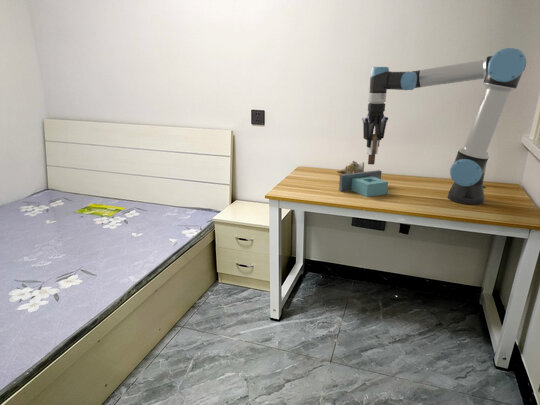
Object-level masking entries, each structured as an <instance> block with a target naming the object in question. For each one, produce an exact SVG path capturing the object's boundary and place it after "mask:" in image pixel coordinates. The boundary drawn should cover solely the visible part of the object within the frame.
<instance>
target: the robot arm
mask: <svg viewBox="0 0 540 405" xmlns="http://www.w3.org/2000/svg"><path fill="white" fill-rule="evenodd" d="M526 68H527V59H526V56H525V53H523V52H522V50H520V49H518V48H514V47H507V48H502V49H500V50H498V51H497V52H495V53H494V54H493V55H489V56H486V57H484V59H479V60H475V61H474V60H473V61H469V62H467V61H466V62H463V63H461V62H460V63H456V64H450V65H443V66H438V67H431V68H425V69H419V70H413V71H390V67H388V66H373V67H372V68H371V71H370V78H369V80H370V81H369V93H368V100H367V101H368V102H369V103H368V104H367V111H368V113H367V116H366V117H362V119H361V120H362V123H363V125H362V126H363V139H364V140H366V147H367V149H366V154H367V155H369V154H370V155H372V148H373V141H371V140H372V136H373V134H377V141H376V152H375V155H378V152H379V151H378V150H379V147H380V141H382V139H384V138H385V133H386V132H385V130H386V128H387V127H386V126H387V123H388V120H389V117H387V116H385V113H384V112H385V110H386V109H385V108H386V104H385V103H386V100H387V90H398V91H413V90H415V89H419V88H424V87H432V86H433V87H434V86H440V85H447V84H448V85H449V84H454V83H462V82H469V81H477V80H483V85H484V88H485V89H484V91H483V94H482V97H481V100H480V103H479V105H478V108H477V111H476V114H475V116H474V118H473V121H472V125H471V127H470V130H469V132H468V135H467V137H466V140H465V143H464V146H463V147H461V148H459V149H458V150H457V154H456V156H455V159H454V162H453V163H452V165H451V167H450V168H449V175H450V178H451V180H452V181H453V184H452V185H451V187H450V189H449V191H448V193H447V199H448V200H450V201H452V202H456V203H458V204H464V205H482V204H484V203H485V199H486V198H485V192H484V191H485V190H484V187H483V186H484V179H485V174H486V168H487V163H488V160H489V158H490V157H489V153H488V149H489V146H490V144H491V141H492V139H493V136H494V134H495V131H496V129H497V126H498V123H499V121H500V119H501V116H502V113H503V111H504V108H505V107H506V103H507V101H508V98H509V95H510V93H512V92H513V91H515V90H517V87H518V85H519V82H520V81H521V77H522V74H524V71H525V70H526Z"/></svg>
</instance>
